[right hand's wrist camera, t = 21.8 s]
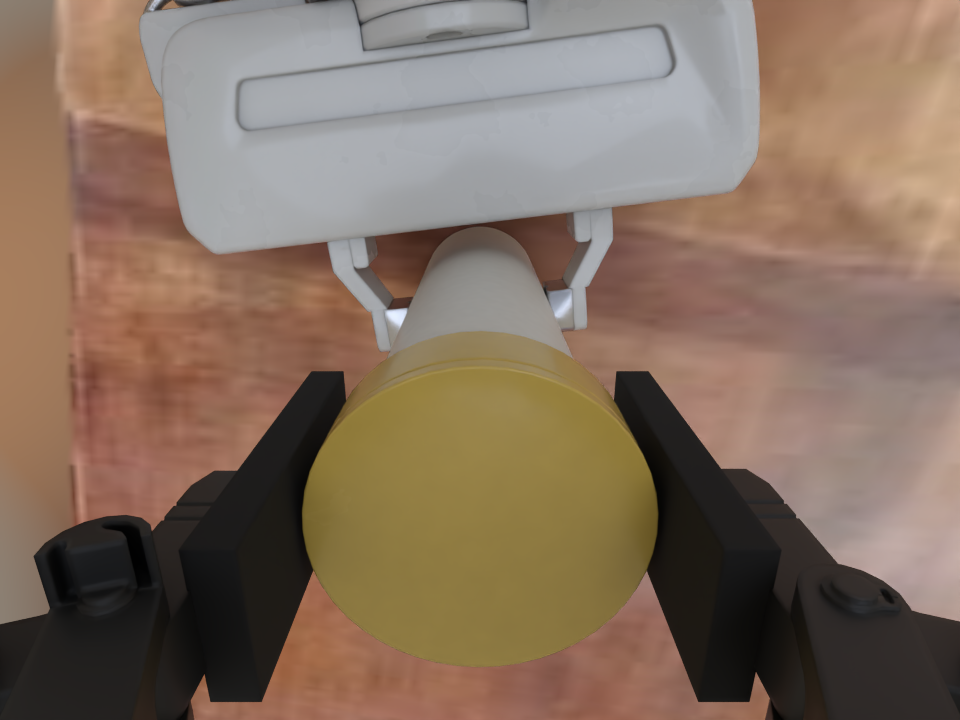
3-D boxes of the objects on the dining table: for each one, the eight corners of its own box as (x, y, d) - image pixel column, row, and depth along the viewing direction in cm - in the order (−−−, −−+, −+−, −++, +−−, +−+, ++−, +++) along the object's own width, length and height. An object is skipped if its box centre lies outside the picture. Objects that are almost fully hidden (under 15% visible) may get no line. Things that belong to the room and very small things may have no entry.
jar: (433, 337, 30) (362, 632, 12) (419, 232, 29) (309, 390, 10) (537, 327, 30) (627, 610, 12) (530, 221, 28) (622, 360, 10)
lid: (647, 331, 11) (680, 368, 9) (617, 596, 13) (639, 669, 11) (315, 328, 11) (282, 363, 9) (339, 594, 13) (317, 667, 11)
